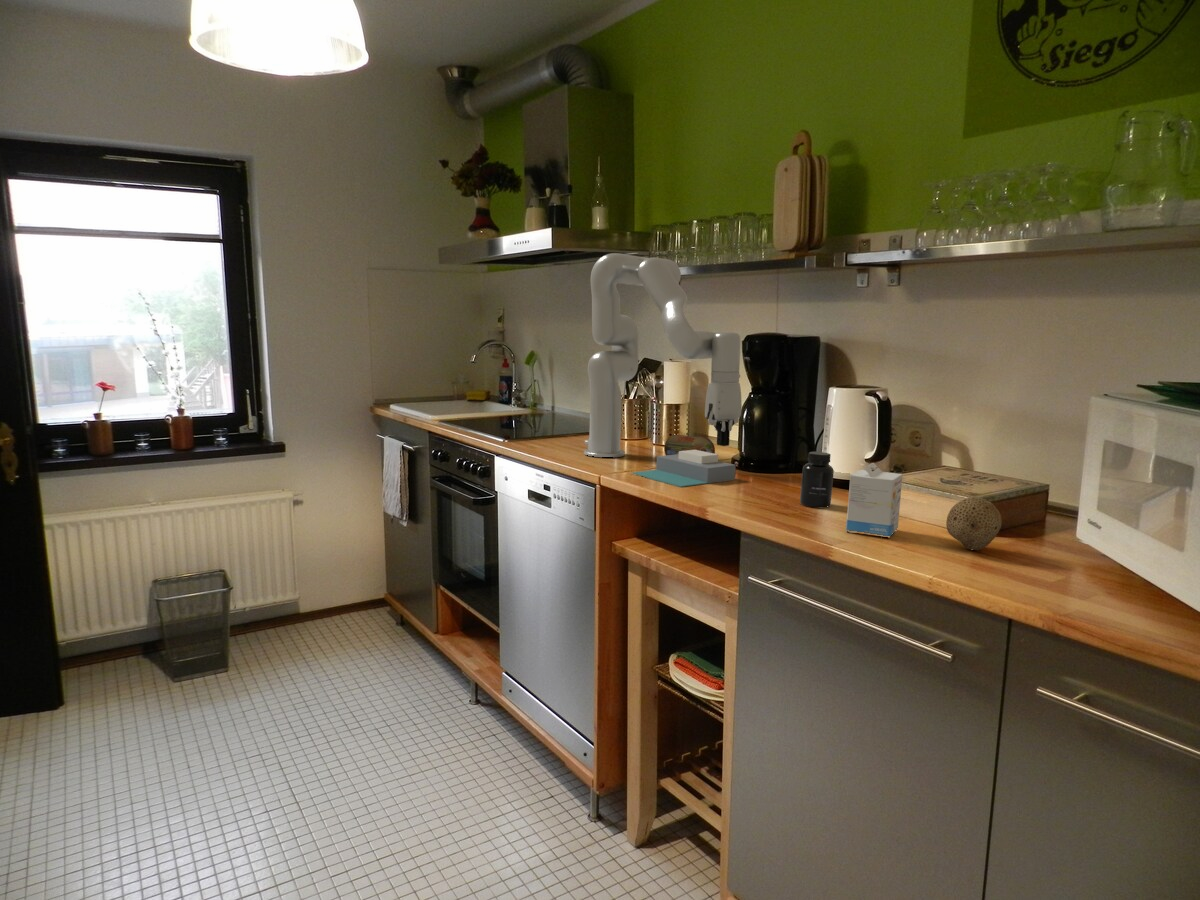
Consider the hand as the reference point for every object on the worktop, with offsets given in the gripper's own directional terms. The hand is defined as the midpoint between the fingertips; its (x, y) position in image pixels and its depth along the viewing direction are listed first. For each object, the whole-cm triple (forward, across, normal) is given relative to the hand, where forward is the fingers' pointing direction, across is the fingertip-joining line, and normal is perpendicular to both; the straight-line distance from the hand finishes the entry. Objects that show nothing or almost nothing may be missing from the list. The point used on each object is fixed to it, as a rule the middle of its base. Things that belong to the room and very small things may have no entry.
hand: (722, 445), depth 212 cm
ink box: (+9, +19, +60) cm, 64 cm away
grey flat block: (+8, +10, -1) cm, 12 cm away
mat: (+7, +19, -1) cm, 21 cm away
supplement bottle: (+8, +10, +39) cm, 41 cm away
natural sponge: (+9, +15, +78) cm, 80 cm away
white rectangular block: (+4, +9, -1) cm, 9 cm away
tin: (+8, -1, -15) cm, 17 cm away
